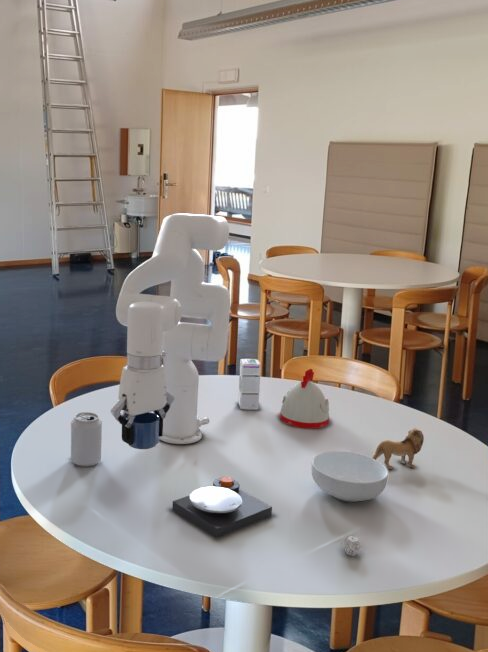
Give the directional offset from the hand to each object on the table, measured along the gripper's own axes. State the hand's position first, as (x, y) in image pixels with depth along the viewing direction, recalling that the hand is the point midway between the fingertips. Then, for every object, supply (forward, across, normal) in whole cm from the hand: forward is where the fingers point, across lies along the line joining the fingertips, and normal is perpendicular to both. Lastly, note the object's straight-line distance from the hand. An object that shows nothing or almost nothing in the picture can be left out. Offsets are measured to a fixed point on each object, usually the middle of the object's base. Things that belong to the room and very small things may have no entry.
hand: (142, 437), depth 155 cm
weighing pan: (+11, -9, +15) cm, 20 cm away
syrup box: (+16, -63, -30) cm, 72 cm away
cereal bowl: (+15, -41, +24) cm, 50 cm away
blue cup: (+1, 0, 0) cm, 1 cm away
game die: (+15, -21, +40) cm, 48 cm away
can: (+15, 0, -23) cm, 28 cm away
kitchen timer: (+16, -70, -13) cm, 72 cm away
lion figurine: (+15, -65, +21) cm, 70 cm away
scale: (+15, -11, +15) cm, 23 cm away
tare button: (+12, -16, +10) cm, 22 cm away
